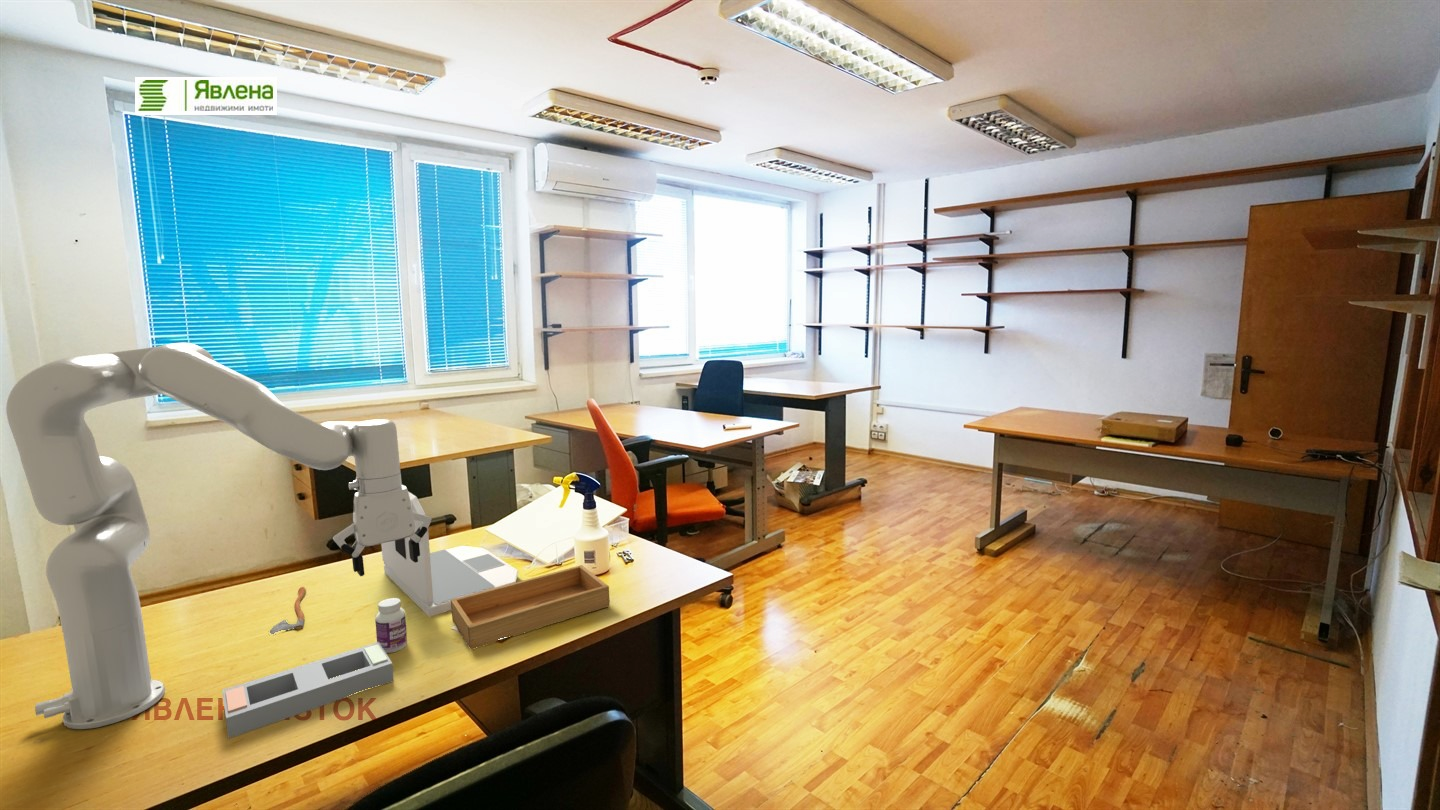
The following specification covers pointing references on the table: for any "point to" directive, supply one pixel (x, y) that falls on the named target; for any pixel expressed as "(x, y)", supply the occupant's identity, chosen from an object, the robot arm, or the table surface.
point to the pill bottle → (391, 625)
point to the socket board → (304, 688)
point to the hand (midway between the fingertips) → (388, 567)
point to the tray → (528, 605)
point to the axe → (285, 626)
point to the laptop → (442, 570)
